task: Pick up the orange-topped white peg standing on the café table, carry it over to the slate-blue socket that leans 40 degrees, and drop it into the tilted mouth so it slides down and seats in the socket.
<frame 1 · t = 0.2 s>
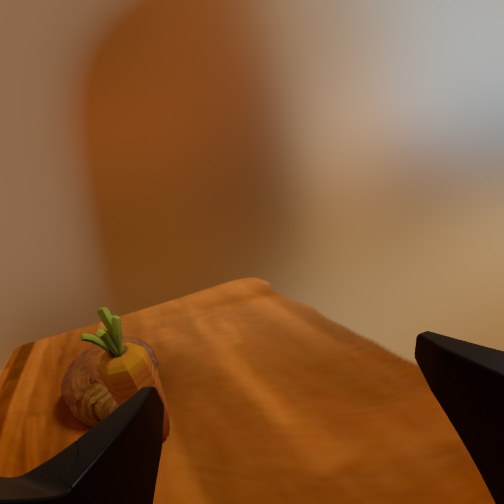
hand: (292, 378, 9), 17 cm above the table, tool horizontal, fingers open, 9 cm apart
carrot: (166, 438, 25), on the table
croissant: (118, 394, 33), on the table
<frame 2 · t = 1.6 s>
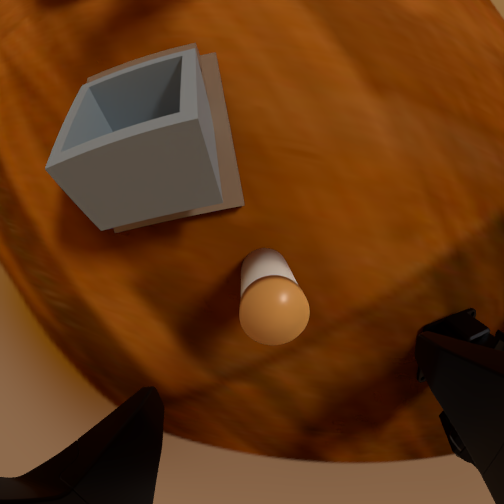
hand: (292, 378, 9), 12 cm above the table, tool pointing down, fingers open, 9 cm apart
leaning socket: (168, 169, 19), on the table
orange-topped white peg: (264, 270, 20), on the table
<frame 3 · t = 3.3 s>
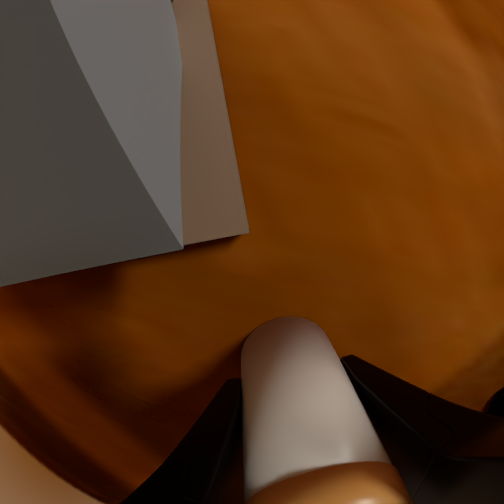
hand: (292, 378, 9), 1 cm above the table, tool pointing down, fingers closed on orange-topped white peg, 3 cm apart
leaning socket: (91, 155, 8), on the table
orange-topped white peg: (286, 356, 10), on the table, touching gripper
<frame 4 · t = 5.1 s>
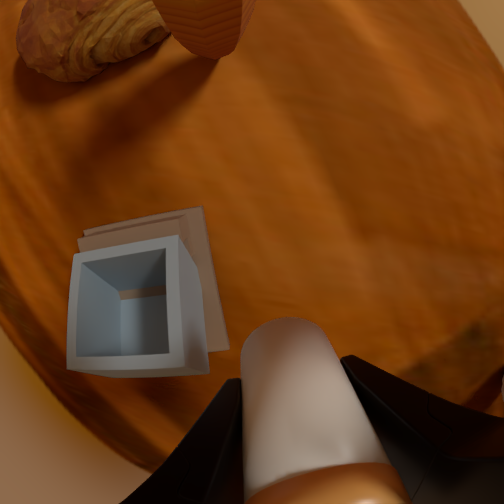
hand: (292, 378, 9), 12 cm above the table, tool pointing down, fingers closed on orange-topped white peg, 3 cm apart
carrot: (217, 55, 17), on the table
leaning socket: (163, 313, 21), on the table
orange-topped white peg: (286, 356, 10), point 11 cm above the table, touching gripper
croissant: (104, 12, 16), on the table
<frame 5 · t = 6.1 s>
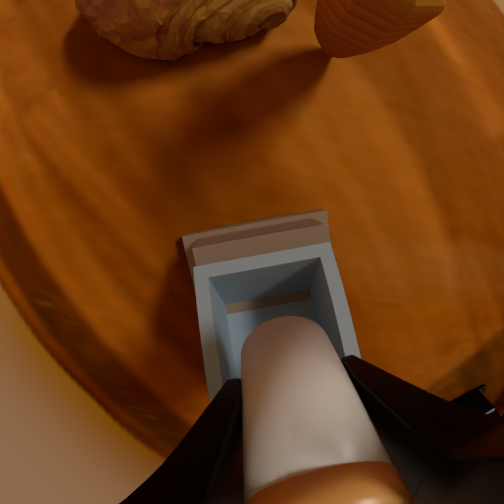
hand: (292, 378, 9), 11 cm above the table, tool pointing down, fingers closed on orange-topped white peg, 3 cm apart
carrot: (328, 52, 16), on the table
leaning socket: (272, 324, 20), on the table
orange-topped white peg: (286, 355, 10), point 10 cm above the table, touching gripper
when the fingers open (8 cm above the table, at t = 6.9 s): orange-topped white peg drops 4 cm and tips over, resting on leaning socket.
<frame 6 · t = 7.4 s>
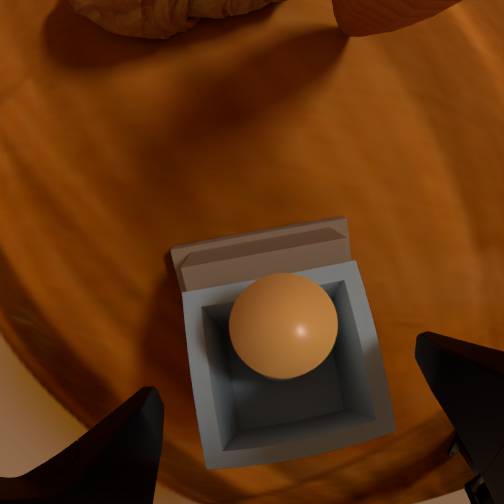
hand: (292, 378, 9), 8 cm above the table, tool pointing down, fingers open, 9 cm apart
carrot: (345, 32, 13), on the table
leaning socket: (278, 350, 17), on the table
orange-topped white peg: (281, 352, 15), point 2 cm above the table, tilted 41°, touching leaning socket
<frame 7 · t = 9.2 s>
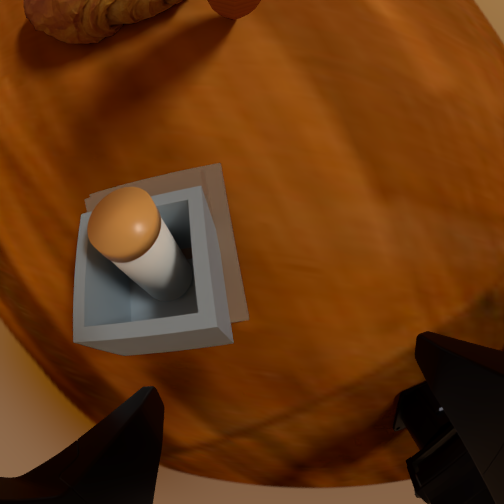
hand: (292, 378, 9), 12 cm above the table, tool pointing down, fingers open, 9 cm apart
carrot: (233, 17, 16), on the table
leaning socket: (176, 282, 20), on the table
orange-topped white peg: (167, 276, 18), point 2 cm above the table, tilted 41°, touching leaning socket
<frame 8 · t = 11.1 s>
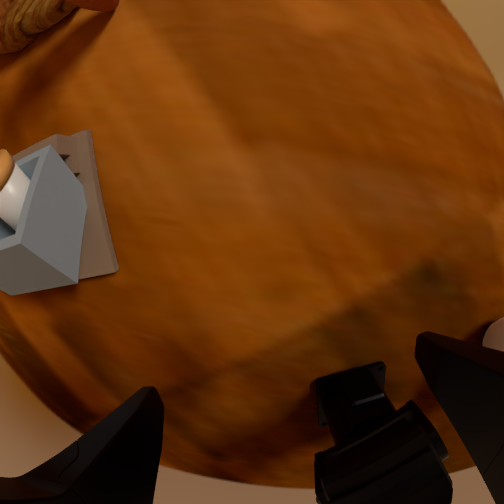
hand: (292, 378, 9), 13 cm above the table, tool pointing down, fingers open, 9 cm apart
sauce bottle: (488, 332, 24), on the table
carrot: (114, 10, 15), on the table
leaning socket: (62, 238, 20), on the table
orange-topped white peg: (46, 228, 18), point 2 cm above the table, tilted 41°, touching leaning socket
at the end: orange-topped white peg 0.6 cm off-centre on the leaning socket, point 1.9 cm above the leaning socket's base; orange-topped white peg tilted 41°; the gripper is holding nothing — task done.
